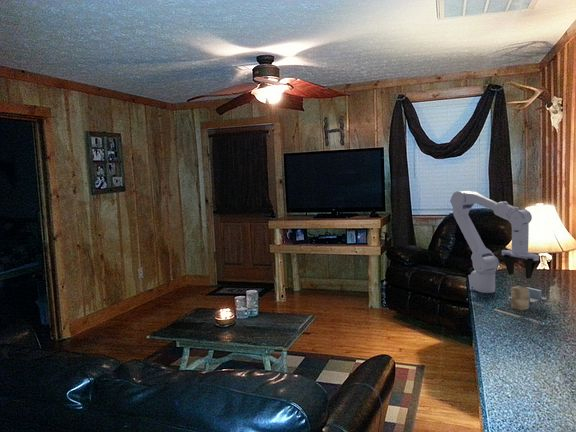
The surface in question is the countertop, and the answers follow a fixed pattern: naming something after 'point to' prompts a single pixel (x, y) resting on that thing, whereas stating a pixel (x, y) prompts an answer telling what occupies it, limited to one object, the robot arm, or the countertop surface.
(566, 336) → the countertop surface
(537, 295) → the vise
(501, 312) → the mat
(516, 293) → the peg
